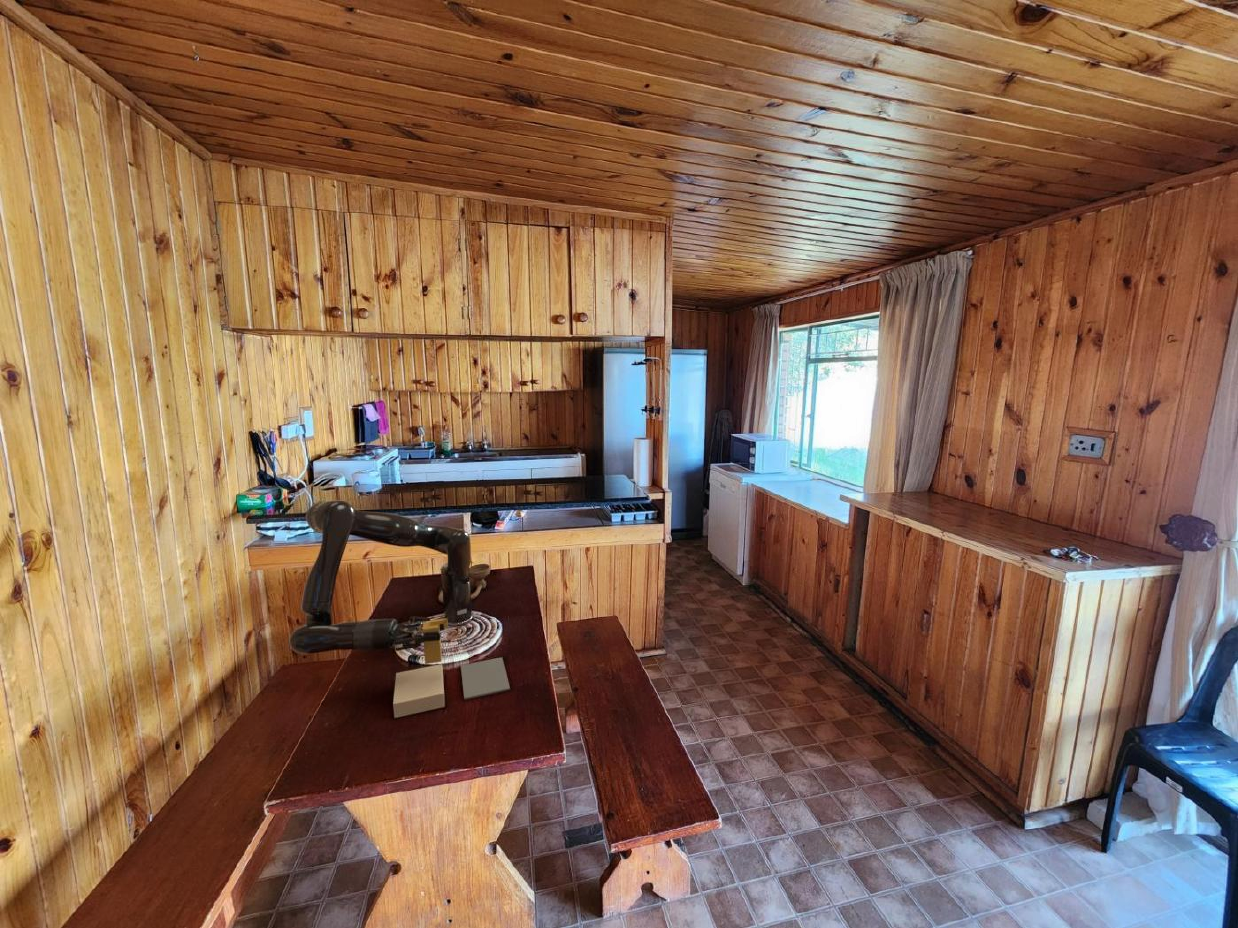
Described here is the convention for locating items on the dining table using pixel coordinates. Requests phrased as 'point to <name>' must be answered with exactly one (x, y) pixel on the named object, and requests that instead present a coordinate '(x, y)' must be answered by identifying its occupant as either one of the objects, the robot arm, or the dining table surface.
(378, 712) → the dining table surface
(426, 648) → the golden block with ridge
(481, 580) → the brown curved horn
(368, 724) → the dining table surface
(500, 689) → the left mat
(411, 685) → the beige rectangular block
